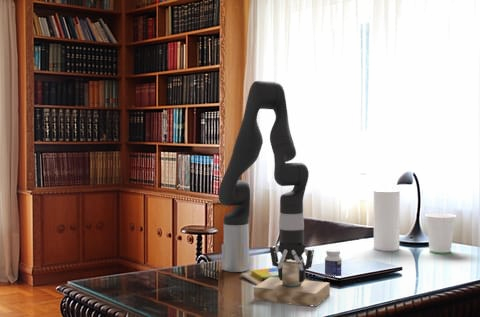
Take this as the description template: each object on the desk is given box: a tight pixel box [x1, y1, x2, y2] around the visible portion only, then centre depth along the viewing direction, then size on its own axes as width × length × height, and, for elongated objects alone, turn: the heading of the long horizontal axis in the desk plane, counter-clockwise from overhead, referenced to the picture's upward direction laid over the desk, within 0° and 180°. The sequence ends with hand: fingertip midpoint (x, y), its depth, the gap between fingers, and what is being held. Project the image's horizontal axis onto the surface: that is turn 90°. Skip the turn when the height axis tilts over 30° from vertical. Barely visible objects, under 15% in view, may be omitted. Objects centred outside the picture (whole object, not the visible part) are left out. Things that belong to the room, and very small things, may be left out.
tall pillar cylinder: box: [373, 188, 401, 252], centre depth 276 cm, size 11×11×25 cm
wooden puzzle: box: [240, 266, 310, 286], centre depth 224 cm, size 18×19×4 cm
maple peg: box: [282, 260, 301, 287], centre depth 201 cm, size 6×6×10 cm
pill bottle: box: [324, 249, 342, 277], centre depth 225 cm, size 6×6×10 cm
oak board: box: [253, 277, 331, 306], centre depth 201 cm, size 20×14×4 cm
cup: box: [424, 212, 457, 255], centre depth 268 cm, size 12×12×15 cm
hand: (291, 280), depth 201 cm, fingers closed on maple peg, 5 cm apart
